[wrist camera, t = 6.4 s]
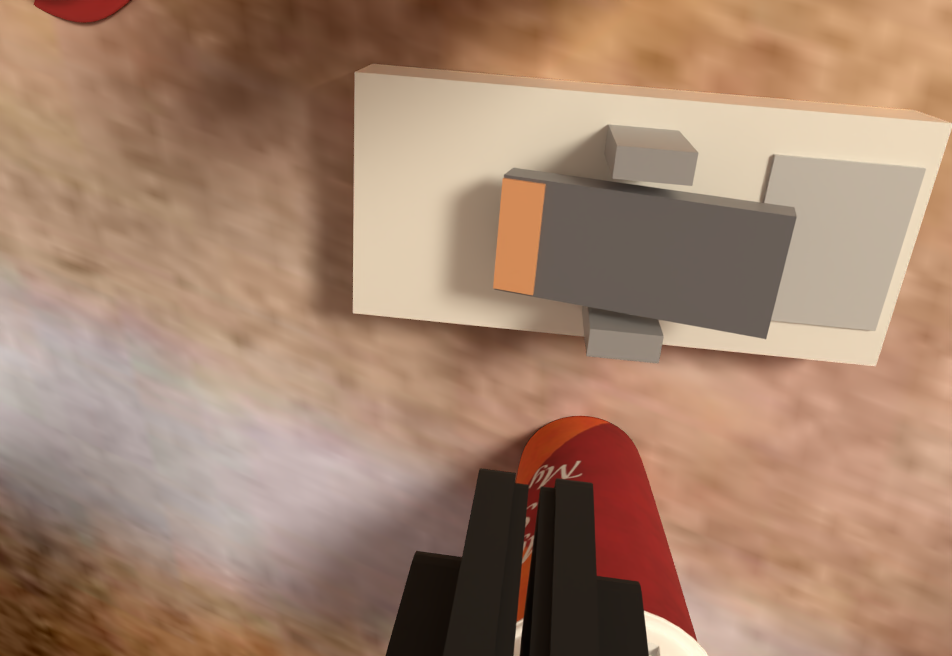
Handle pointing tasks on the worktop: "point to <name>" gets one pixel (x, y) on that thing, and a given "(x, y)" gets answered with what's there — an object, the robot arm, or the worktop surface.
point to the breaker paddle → (642, 250)
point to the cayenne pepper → (81, 8)
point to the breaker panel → (639, 163)
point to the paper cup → (610, 522)
